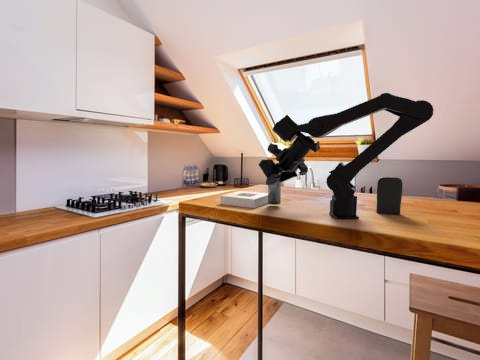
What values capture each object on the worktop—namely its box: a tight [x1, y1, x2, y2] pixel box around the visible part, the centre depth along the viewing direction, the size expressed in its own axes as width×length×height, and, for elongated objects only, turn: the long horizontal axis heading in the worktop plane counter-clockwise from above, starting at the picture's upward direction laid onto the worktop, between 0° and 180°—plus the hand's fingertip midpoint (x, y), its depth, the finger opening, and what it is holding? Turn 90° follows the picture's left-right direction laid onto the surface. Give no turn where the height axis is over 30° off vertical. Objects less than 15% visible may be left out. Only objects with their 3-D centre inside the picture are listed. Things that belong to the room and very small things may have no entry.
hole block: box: [219, 190, 268, 209], centre depth 101 cm, size 14×14×3 cm
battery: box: [375, 176, 404, 215], centre depth 85 cm, size 7×4×11 cm, turn 69°
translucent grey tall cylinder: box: [267, 173, 282, 206], centre depth 94 cm, size 4×4×11 cm
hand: (271, 183), depth 95 cm, fingers closed on translucent grey tall cylinder, 4 cm apart
